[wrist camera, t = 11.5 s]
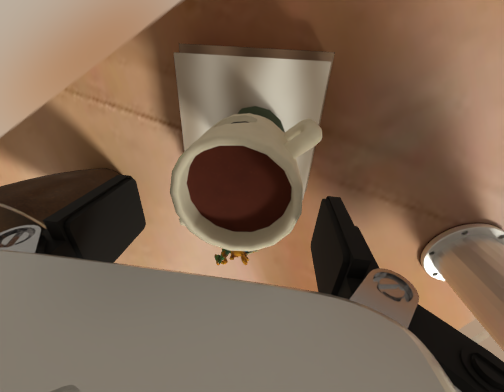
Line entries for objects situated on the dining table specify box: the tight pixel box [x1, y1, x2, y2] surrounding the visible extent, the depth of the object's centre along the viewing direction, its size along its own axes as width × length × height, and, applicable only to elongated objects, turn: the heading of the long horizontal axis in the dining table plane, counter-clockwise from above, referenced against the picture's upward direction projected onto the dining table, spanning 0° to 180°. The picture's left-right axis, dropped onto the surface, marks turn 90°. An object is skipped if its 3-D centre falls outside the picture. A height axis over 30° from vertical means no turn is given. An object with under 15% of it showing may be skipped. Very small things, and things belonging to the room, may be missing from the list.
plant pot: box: [0, 168, 120, 233], centre depth 30 cm, size 15×15×16 cm
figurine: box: [215, 248, 257, 265], centre depth 35 cm, size 3×12×8 cm, turn 118°
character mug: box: [170, 106, 322, 251], centre depth 17 cm, size 11×7×13 cm, turn 127°
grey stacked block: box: [174, 44, 335, 200], centre depth 26 cm, size 16×16×8 cm
